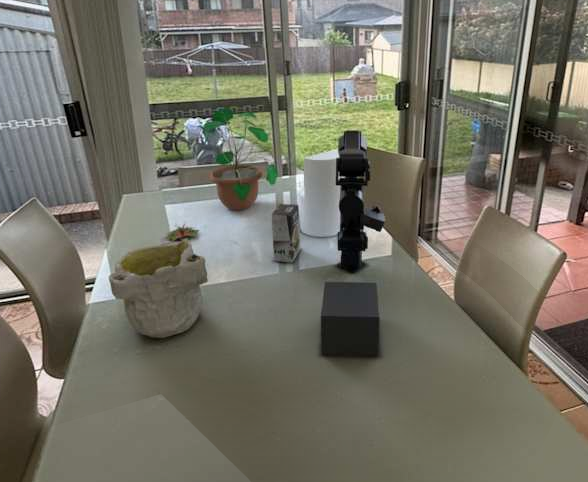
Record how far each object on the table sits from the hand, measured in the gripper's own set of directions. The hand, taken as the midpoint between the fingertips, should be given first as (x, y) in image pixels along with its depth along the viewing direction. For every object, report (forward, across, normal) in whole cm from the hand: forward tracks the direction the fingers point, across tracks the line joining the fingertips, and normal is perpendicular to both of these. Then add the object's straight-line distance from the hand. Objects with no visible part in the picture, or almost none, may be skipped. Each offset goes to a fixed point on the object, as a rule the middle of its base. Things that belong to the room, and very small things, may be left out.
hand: (351, 256), depth 116 cm
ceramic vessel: (+12, -11, +46) cm, 49 cm away
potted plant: (+12, +66, +44) cm, 81 cm away
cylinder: (+12, +44, +11) cm, 47 cm away
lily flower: (+12, +35, +60) cm, 71 cm away
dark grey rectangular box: (+12, -17, 0) cm, 21 cm away
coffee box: (+12, +22, +21) cm, 33 cm away
